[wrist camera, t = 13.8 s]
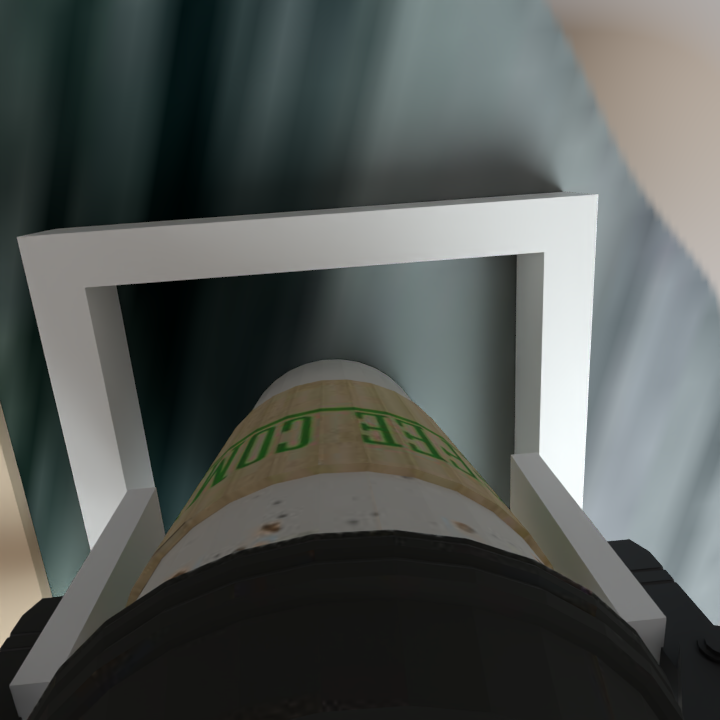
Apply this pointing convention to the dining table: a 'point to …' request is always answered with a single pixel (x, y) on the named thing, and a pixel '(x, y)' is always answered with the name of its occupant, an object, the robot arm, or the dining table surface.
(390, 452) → the coffee cup
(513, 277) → the dining table surface
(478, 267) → the dining table surface
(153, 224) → the white square frame
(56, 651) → the robot arm
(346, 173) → the dining table surface
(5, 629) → the cork pad
